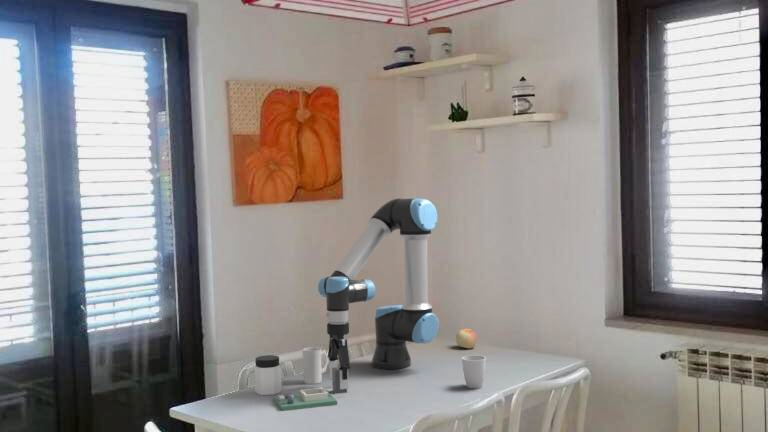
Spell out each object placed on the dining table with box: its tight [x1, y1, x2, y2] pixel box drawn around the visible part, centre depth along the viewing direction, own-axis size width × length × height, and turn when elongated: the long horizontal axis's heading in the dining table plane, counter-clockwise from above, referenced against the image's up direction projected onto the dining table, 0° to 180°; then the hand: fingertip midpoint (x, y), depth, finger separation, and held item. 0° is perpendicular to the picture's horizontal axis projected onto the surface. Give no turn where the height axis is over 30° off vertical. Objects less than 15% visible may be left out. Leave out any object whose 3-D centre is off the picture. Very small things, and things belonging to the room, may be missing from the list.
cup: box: [461, 354, 487, 389], centre depth 282 cm, size 8×8×10 cm
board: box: [273, 386, 338, 412], centre depth 267 cm, size 18×14×4 cm
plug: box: [331, 366, 348, 395], centre depth 279 cm, size 5×4×8 cm
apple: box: [455, 328, 478, 349], centre depth 344 cm, size 9×9×8 cm
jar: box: [253, 354, 282, 396], centre depth 280 cm, size 9×8×12 cm
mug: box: [302, 346, 329, 385], centre depth 294 cm, size 10×7×12 cm, turn 127°
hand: (338, 384), depth 279 cm, fingers open, 13 cm apart
